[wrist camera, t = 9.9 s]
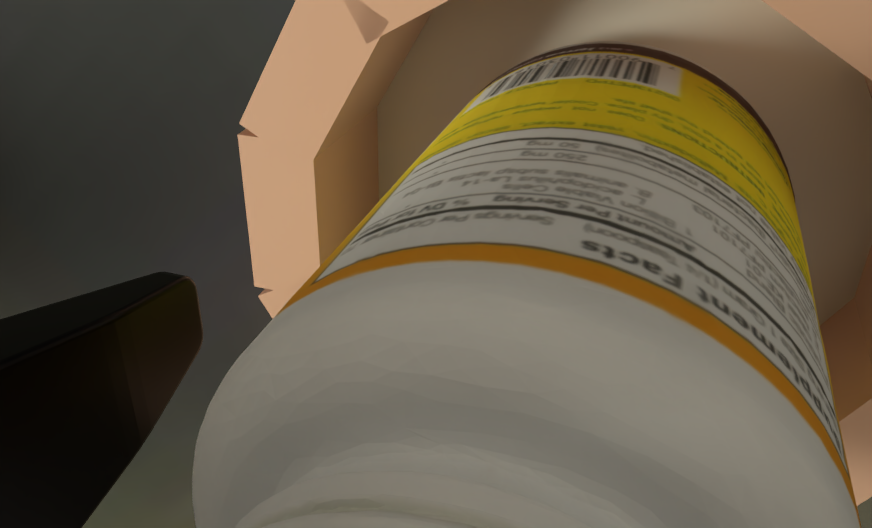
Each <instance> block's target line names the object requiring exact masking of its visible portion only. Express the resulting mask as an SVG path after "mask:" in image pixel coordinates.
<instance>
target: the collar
mask: <svg viewBox="0 0 872 528" xmlns="http://www.w3.org/2000/svg"><path fill="white" fill-rule="evenodd" d="M597 41H618V42H629V43H636V44H643V45H649V46H653V47H656V48H660V49H664V50H667V51H670V52H673V53H676V54H678V55H681V56H683V57H686V58H688V59H690V60H692V61H694V62H696V63H698V64H700V65H702V66H704V67H706V68H707V69H709V70H710V71H712V72H713V73H715V74H717V75H718V76H720V77H721V78H723V79H724V80H725V81H726V82H728V83H729V84H730V85H732V86H733V87H734V88H735V89H736V90H737V91H738V92H739V93H740V94H741V95H742V96H744V97H745V98H746V99H747V100H748V101H749V103H750V104H751V105H752V106H753V107H754V108H755V110H756V111H757V112H758V114H759V115H760V116H761V118H762V119H763V121H764V122H765V123H766V125H767V127H768V128H769V130H770V131H771V133H772V135H773V137H774V139H775V141H776V143H777V145H778V147H779V149H780V151H781V154H782V156H783V159H784V161H785V163H786V166H787V168H788V172H789V176H790V179H791V183H792V187H793V191H794V195H795V205H796V210H797V215H798V220H799V225H800V229H801V234H802V239H803V244H804V249H805V255H806V259H807V263H808V268H809V273H810V279H811V284H812V290H813V295H814V300H815V306H816V311H817V316H818V321H819V326H820V331H821V335H822V339H823V344H824V348H825V353H826V357H827V362H828V366H829V371H830V377H831V383H832V389H833V395H834V401H835V406H836V410H837V415H838V420H839V425H840V429H841V434H842V439H843V444H844V449H845V453H846V458H847V463H848V468H849V473H850V478H851V482H852V487H853V491H854V496H855V501H856V505H857V506H858V505H859V504H861V503H862V502H864V501H865V500H867V499H869V498H870V497H872V0H296V1H295V3H294V5H293V8H292V10H291V12H290V14H289V16H288V19H287V21H286V23H285V25H284V27H283V29H282V32H281V34H280V36H279V38H278V40H277V42H276V45H275V47H274V49H273V51H272V53H271V55H270V58H269V60H268V62H267V64H266V66H265V69H264V71H263V73H262V75H261V77H260V79H259V82H258V84H257V86H256V88H255V90H254V92H253V95H252V97H251V99H250V101H249V103H248V105H247V108H246V110H245V112H244V114H243V116H242V119H241V121H240V123H239V124H241V125H242V126H243V127H245V128H246V129H245V130H244V131H242V132H241V133H239V134H238V142H239V151H240V160H241V169H242V178H243V187H244V196H245V205H246V214H247V223H248V232H249V241H250V250H251V259H252V268H253V277H254V286H255V287H260V288H265V290H264V291H263V292H262V293H261V294H260V295H259V296H258V297H259V298H260V300H261V301H262V303H263V304H264V306H265V308H266V309H267V311H268V312H269V314H270V315H271V317H272V318H274V317H275V316H276V315H277V313H278V312H279V311H280V310H281V309H282V308H283V306H284V305H285V304H286V303H287V302H288V301H289V299H290V298H291V297H292V296H293V295H294V294H295V293H296V292H297V291H298V290H299V289H300V288H301V287H302V285H303V284H304V283H305V282H306V281H307V280H308V279H309V278H310V277H311V276H312V274H313V273H314V272H315V271H316V270H317V269H318V268H319V267H320V266H321V265H322V264H323V263H324V261H325V260H326V259H327V258H328V257H329V256H330V255H331V254H332V253H333V252H334V250H335V249H336V248H337V247H338V246H339V245H340V244H341V243H342V242H343V241H344V239H345V238H346V237H347V236H348V235H349V234H350V233H351V232H352V231H353V230H354V229H355V228H356V226H357V225H358V224H359V223H360V222H361V221H362V220H363V219H364V218H365V217H366V215H367V214H368V213H369V212H370V211H371V210H372V209H373V208H374V206H375V205H376V204H377V203H378V202H379V201H380V200H381V198H382V197H383V196H384V195H385V194H386V193H387V192H388V191H389V190H390V189H391V187H392V186H393V185H394V184H395V183H396V182H397V181H398V180H399V179H400V177H401V176H402V175H403V174H404V173H405V172H406V171H407V170H408V168H409V167H410V166H411V165H412V164H413V163H414V162H415V161H416V160H417V159H418V157H419V156H420V155H421V154H422V153H423V152H424V151H425V150H426V149H427V148H428V146H429V145H430V144H431V143H432V142H433V141H434V140H435V139H436V138H437V137H438V136H439V135H440V134H441V132H442V131H443V130H444V129H445V128H446V127H447V126H448V125H449V124H450V122H451V121H452V120H453V119H454V118H455V117H456V116H457V115H458V114H459V113H460V112H461V111H462V110H463V108H464V107H465V106H466V105H467V104H468V103H469V102H470V101H471V100H472V99H473V98H474V97H475V96H476V95H477V94H478V93H479V92H480V91H481V90H482V89H483V88H485V87H486V86H487V85H488V84H489V83H491V82H492V81H493V80H494V79H495V78H497V77H498V76H500V75H501V74H503V73H504V72H506V71H507V70H509V69H510V68H512V67H514V66H515V65H517V64H519V63H520V62H522V61H524V60H527V59H529V58H531V57H534V56H536V55H539V54H541V53H543V52H546V51H549V50H552V49H555V48H559V47H563V46H568V45H573V44H579V43H587V42H597Z"/></svg>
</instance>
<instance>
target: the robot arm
mask: <svg viewBox="0 0 872 528" xmlns="http://www.w3.org/2000/svg"><path fill="white" fill-rule="evenodd" d="M202 340H203V327H202V321H201V314H200V307H199V301H198V294H197V289H196V285H195V283H194V281H193V280H192V279H191V278H189V277H188V276H183V275H178V274H173V273H168V272H157V273H153V274H150V275H147V276H143V277H140V278H137V279H133V280H130V281H127V282H123V283H120V284H117V285H113V286H110V287H107V288H103V289H100V290H97V291H93V292H90V293H87V294H83V295H80V296H77V297H73V298H70V299H67V300H63V301H60V302H57V303H53V304H50V305H47V306H43V307H40V308H37V309H33V310H30V311H27V312H23V313H20V314H17V315H13V316H10V317H7V318H3V319H0V528H82V527H83V525H84V524H85V523H86V521H87V520H88V519H89V517H90V516H91V515H92V513H93V512H94V511H95V509H96V508H97V507H98V505H99V504H100V502H101V501H102V500H103V498H104V497H105V496H106V494H107V493H108V492H109V490H110V489H111V488H112V486H113V485H114V484H115V482H116V481H117V480H118V478H119V477H120V476H121V474H122V473H123V472H124V470H125V469H126V468H127V466H128V465H129V464H130V462H131V461H132V459H133V458H134V457H135V455H136V454H137V452H138V451H139V449H140V448H141V447H142V445H143V443H144V442H145V440H146V439H147V437H148V436H149V434H150V433H151V431H152V429H153V428H154V426H155V424H156V423H157V421H158V419H159V418H160V416H161V414H162V413H163V411H164V409H165V407H166V406H167V404H168V402H169V401H170V399H171V397H172V396H173V394H174V392H175V391H176V389H177V387H178V386H179V384H180V382H181V381H182V379H183V377H184V376H185V374H186V372H187V370H188V369H189V367H190V365H191V364H192V362H193V360H194V359H195V357H196V355H197V354H198V352H199V350H200V347H201V344H202Z"/></svg>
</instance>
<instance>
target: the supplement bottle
mask: <svg viewBox="0 0 872 528" xmlns="http://www.w3.org/2000/svg"><path fill="white" fill-rule="evenodd" d="M192 499H193V509H194V517H195V524H196V528H861V524H860V519H859V514H858V510H857V505H856V501H855V496H854V491H853V487H852V482H851V478H850V473H849V468H848V463H847V458H846V453H845V449H844V444H843V439H842V434H841V429H840V425H839V420H838V415H837V410H836V406H835V401H834V395H833V389H832V383H831V377H830V371H829V366H828V362H827V357H826V353H825V348H824V344H823V339H822V335H821V331H820V326H819V321H818V316H817V311H816V306H815V300H814V295H813V290H812V284H811V279H810V273H809V268H808V263H807V259H806V255H805V249H804V244H803V239H802V234H801V229H800V225H799V220H798V215H797V210H796V205H795V195H794V191H793V187H792V183H791V179H790V176H789V172H788V168H787V166H786V163H785V161H784V159H783V156H782V154H781V151H780V149H779V147H778V145H777V143H776V141H775V139H774V137H773V135H772V133H771V131H770V130H769V128H768V127H767V125H766V123H765V122H764V121H763V119H762V118H761V116H760V115H759V114H758V112H757V111H756V110H755V108H754V107H753V106H752V105H751V104H750V103H749V101H748V100H747V99H746V98H745V97H744V96H742V95H741V94H740V93H739V92H738V91H737V90H736V89H735V88H734V87H733V86H732V85H730V84H729V83H728V82H726V81H725V80H724V79H723V78H721V77H720V76H718V75H717V74H715V73H713V72H712V71H710V70H709V69H707V68H706V67H704V66H702V65H700V64H698V63H696V62H694V61H692V60H690V59H688V58H686V57H683V56H681V55H678V54H676V53H673V52H670V51H667V50H664V49H660V48H656V47H653V46H649V45H643V44H636V43H629V42H618V41H597V42H587V43H579V44H573V45H568V46H563V47H559V48H555V49H552V50H549V51H546V52H543V53H541V54H539V55H536V56H534V57H531V58H529V59H527V60H524V61H522V62H520V63H519V64H517V65H515V66H514V67H512V68H510V69H509V70H507V71H506V72H504V73H503V74H501V75H500V76H498V77H497V78H495V79H494V80H493V81H492V82H491V83H489V84H488V85H487V86H486V87H485V88H483V89H482V90H481V91H480V92H479V93H478V94H477V95H476V96H475V97H474V98H473V99H472V100H471V101H470V102H469V103H468V104H467V105H466V106H465V107H464V108H463V110H462V111H461V112H460V113H459V114H458V115H457V116H456V117H455V118H454V119H453V120H452V121H451V122H450V124H449V125H448V126H447V127H446V128H445V129H444V130H443V131H442V132H441V134H440V135H439V136H438V137H437V138H436V139H435V140H434V141H433V142H432V143H431V144H430V145H429V146H428V148H427V149H426V150H425V151H424V152H423V153H422V154H421V155H420V156H419V157H418V159H417V160H416V161H415V162H414V163H413V164H412V165H411V166H410V167H409V168H408V170H407V171H406V172H405V173H404V174H403V175H402V176H401V177H400V179H399V180H398V181H397V182H396V183H395V184H394V185H393V186H392V187H391V189H390V190H389V191H388V192H387V193H386V194H385V195H384V196H383V197H382V198H381V200H380V201H379V202H378V203H377V204H376V205H375V206H374V208H373V209H372V210H371V211H370V212H369V213H368V214H367V215H366V217H365V218H364V219H363V220H362V221H361V222H360V223H359V224H358V225H357V226H356V228H355V229H354V230H353V231H352V232H351V233H350V234H349V235H348V236H347V237H346V238H345V239H344V241H343V242H342V243H341V244H340V245H339V246H338V247H337V248H336V249H335V250H334V252H333V253H332V254H331V255H330V256H329V257H328V258H327V259H326V260H325V261H324V263H323V264H322V265H321V266H320V267H319V268H318V269H317V270H316V271H315V272H314V273H313V274H312V276H311V277H310V278H309V279H308V280H307V281H306V282H305V283H304V284H303V285H302V287H301V288H300V289H299V290H298V291H297V292H296V293H295V294H294V295H293V296H292V297H291V298H290V299H289V301H288V302H287V303H286V304H285V305H284V306H283V308H282V309H281V310H280V311H279V312H278V313H277V315H276V316H275V317H274V318H273V319H272V321H271V322H270V323H269V324H268V325H267V326H266V327H265V328H264V329H263V331H262V332H261V333H260V334H259V335H258V336H257V337H256V338H255V340H254V341H253V342H252V343H251V344H250V345H249V346H248V347H247V348H246V350H245V351H244V352H243V353H242V354H241V355H240V356H239V357H238V359H237V360H236V361H235V363H234V364H233V365H232V367H231V368H230V370H229V371H228V373H227V374H226V376H225V377H224V379H223V380H222V382H221V384H220V386H219V387H218V389H217V391H216V393H215V395H214V397H213V399H212V400H211V402H210V404H209V406H208V409H207V411H206V415H205V418H204V420H203V423H202V425H201V427H200V431H199V435H198V438H197V442H196V446H195V455H194V463H193V474H192Z"/></svg>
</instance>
